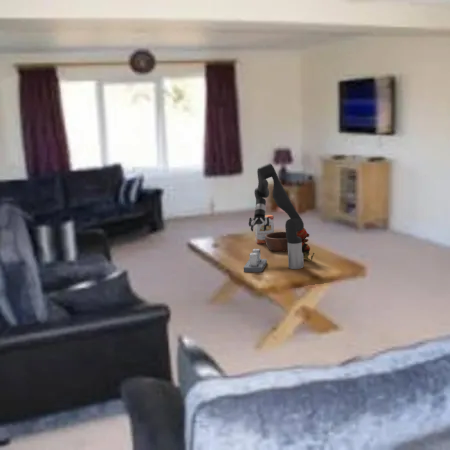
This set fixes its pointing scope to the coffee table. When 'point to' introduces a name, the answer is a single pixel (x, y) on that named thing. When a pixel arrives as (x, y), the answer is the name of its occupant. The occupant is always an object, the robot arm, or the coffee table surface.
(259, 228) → the cracker box
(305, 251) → the red flower plant
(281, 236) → the wooden bowl
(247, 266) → the grey square hole board
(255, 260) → the block
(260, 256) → the block
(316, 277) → the coffee table surface
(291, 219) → the robot arm
